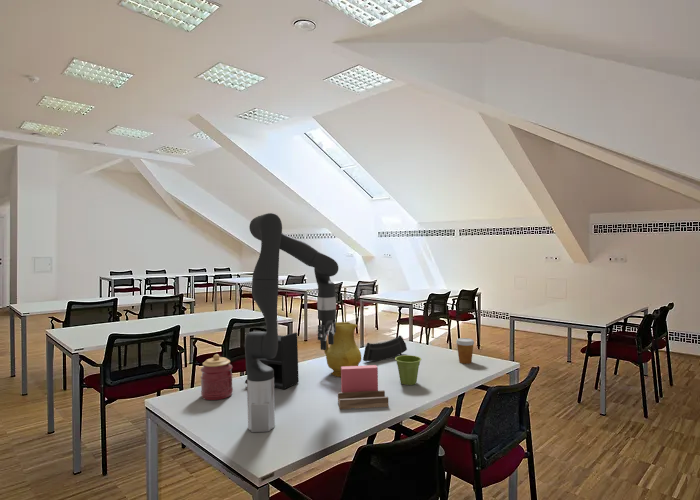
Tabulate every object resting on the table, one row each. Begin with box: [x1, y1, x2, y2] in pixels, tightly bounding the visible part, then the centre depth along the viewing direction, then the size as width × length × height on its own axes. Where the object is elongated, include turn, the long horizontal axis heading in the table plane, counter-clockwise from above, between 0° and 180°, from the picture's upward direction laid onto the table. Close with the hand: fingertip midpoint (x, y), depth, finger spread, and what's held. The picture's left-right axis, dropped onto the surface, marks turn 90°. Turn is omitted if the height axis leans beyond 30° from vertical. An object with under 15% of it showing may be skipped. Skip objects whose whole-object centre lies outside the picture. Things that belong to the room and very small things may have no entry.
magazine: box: [362, 334, 408, 362], centre depth 244 cm, size 17×3×30 cm
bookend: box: [244, 331, 300, 390], centre depth 204 cm, size 23×11×24 cm, turn 60°
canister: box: [200, 353, 234, 401], centre depth 188 cm, size 13×13×18 cm
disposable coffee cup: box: [455, 337, 475, 365], centre depth 234 cm, size 10×10×12 cm
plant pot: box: [394, 354, 422, 386], centre depth 201 cm, size 12×12×11 cm
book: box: [340, 364, 379, 392], centre depth 185 cm, size 4×15×12 cm, turn 96°
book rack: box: [337, 389, 389, 410], centre depth 175 cm, size 9×19×4 cm, turn 96°
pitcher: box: [323, 321, 362, 378], centre depth 219 cm, size 17×19×25 cm
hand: (327, 346), depth 180 cm, fingers open, 8 cm apart
